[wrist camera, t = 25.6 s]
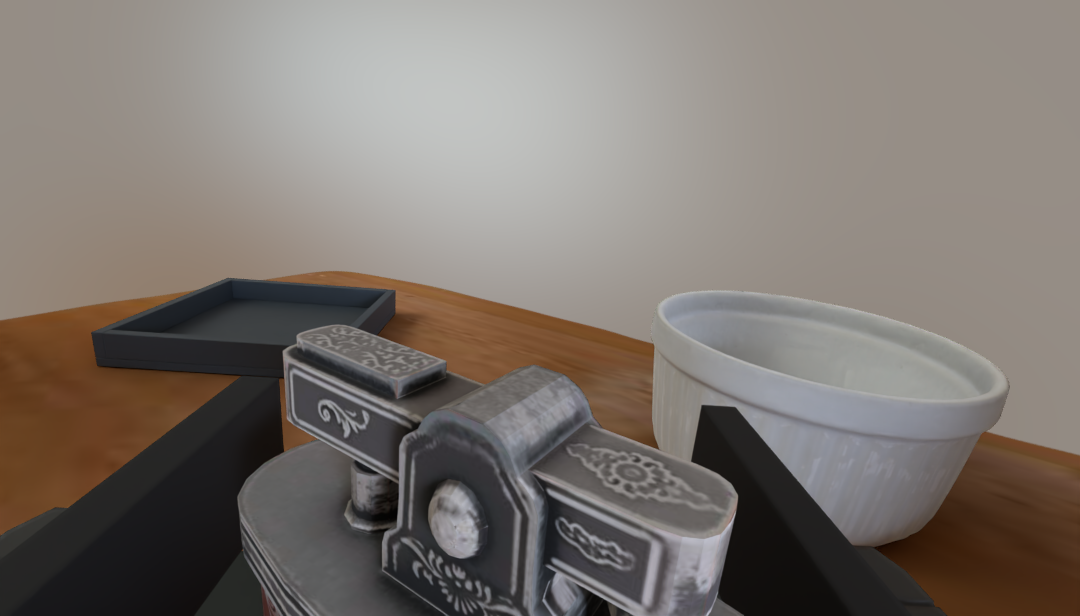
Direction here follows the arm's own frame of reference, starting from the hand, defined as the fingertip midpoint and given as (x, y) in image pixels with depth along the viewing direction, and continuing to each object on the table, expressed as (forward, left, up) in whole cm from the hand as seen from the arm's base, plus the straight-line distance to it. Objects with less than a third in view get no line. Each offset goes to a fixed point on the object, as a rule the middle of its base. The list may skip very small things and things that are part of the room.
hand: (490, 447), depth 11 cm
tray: (-16, +23, -7) cm, 29 cm away
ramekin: (+13, +10, -7) cm, 18 cm away
